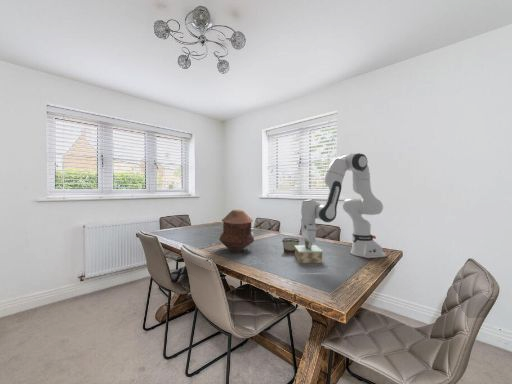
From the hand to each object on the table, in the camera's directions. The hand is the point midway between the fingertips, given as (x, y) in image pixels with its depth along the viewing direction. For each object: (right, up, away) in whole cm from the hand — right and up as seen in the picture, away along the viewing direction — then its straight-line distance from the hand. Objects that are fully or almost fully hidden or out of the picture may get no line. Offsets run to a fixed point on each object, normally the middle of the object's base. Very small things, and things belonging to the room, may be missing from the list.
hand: (308, 246), depth 149 cm
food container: (-9, -9, +18) cm, 22 cm away
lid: (0, -2, 0) cm, 2 cm away
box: (0, -9, 0) cm, 9 cm away
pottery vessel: (-48, -9, +24) cm, 54 cm away
